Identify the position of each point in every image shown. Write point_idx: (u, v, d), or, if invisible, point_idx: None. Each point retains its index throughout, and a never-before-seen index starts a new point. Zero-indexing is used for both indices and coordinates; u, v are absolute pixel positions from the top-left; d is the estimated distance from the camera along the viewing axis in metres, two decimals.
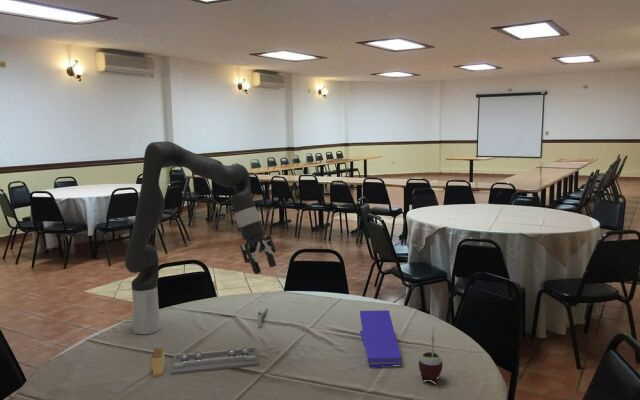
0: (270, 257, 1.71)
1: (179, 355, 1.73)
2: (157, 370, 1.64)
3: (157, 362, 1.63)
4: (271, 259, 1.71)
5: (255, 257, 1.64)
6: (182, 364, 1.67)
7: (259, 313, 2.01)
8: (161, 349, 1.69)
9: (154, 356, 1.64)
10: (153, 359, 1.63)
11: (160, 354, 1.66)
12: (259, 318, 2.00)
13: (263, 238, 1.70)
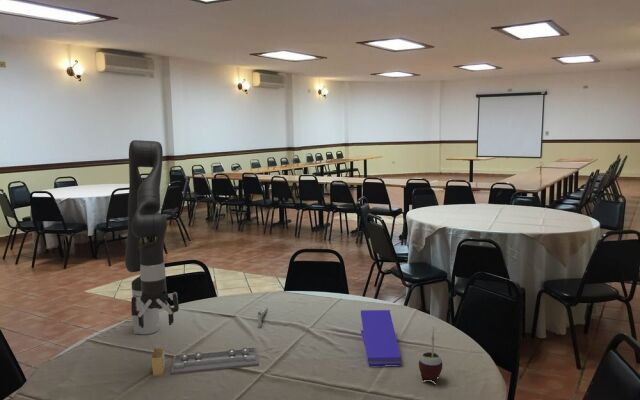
0: None
1: (179, 355, 1.73)
2: (157, 370, 1.64)
3: (157, 362, 1.63)
4: None
5: (140, 312, 1.62)
6: (182, 364, 1.67)
7: (259, 313, 2.01)
8: (161, 349, 1.69)
9: (154, 356, 1.64)
10: (153, 359, 1.63)
11: (160, 354, 1.66)
12: (259, 318, 2.00)
13: (163, 296, 1.63)
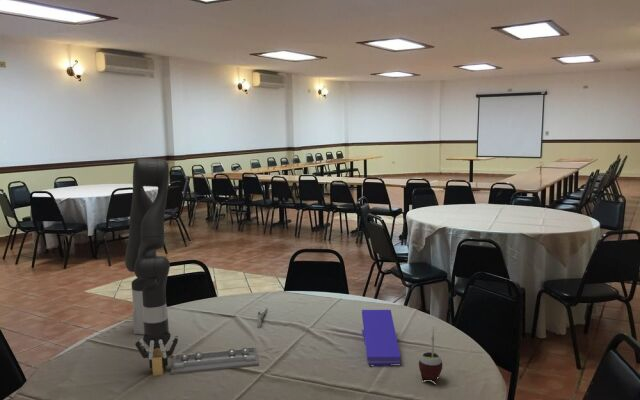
0: None
1: (179, 355, 1.73)
2: (157, 370, 1.64)
3: (157, 362, 1.63)
4: None
5: (151, 355, 1.65)
6: (182, 364, 1.67)
7: (259, 313, 2.01)
8: None
9: (154, 356, 1.64)
10: (153, 359, 1.63)
11: (160, 354, 1.65)
12: (259, 318, 2.00)
13: (166, 336, 1.65)
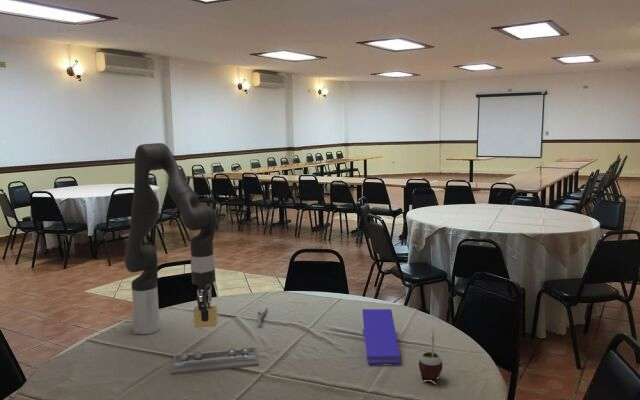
0: None
1: (179, 355, 1.73)
2: (216, 319, 1.70)
3: (216, 311, 1.70)
4: None
5: (207, 305, 1.67)
6: (182, 364, 1.67)
7: (259, 313, 2.01)
8: None
9: (212, 308, 1.68)
10: (215, 309, 1.68)
11: (209, 306, 1.70)
12: (259, 318, 2.00)
13: (209, 283, 1.71)
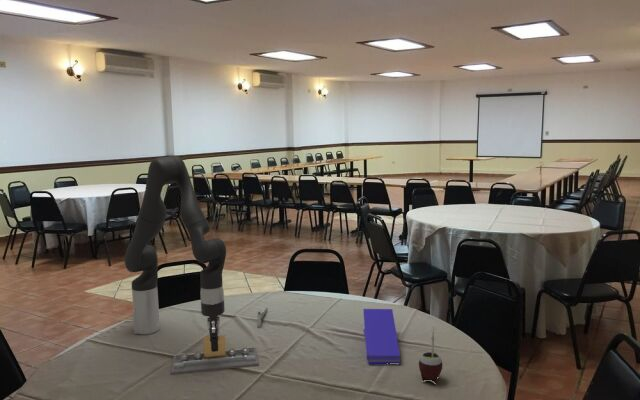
0: None
1: (179, 355, 1.73)
2: None
3: None
4: None
5: None
6: (182, 364, 1.67)
7: (259, 313, 2.01)
8: (206, 337, 1.72)
9: (221, 338, 1.71)
10: None
11: (218, 336, 1.73)
12: (259, 318, 2.00)
13: None
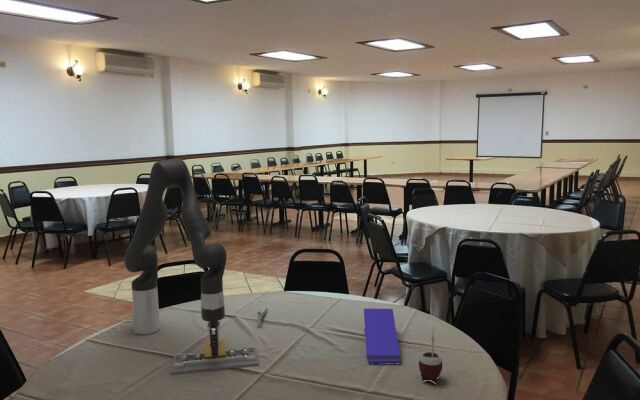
0: None
1: (179, 355, 1.73)
2: None
3: None
4: (216, 338, 1.76)
5: None
6: (182, 364, 1.67)
7: (259, 313, 2.01)
8: (207, 342, 1.72)
9: (221, 342, 1.71)
10: None
11: (218, 340, 1.73)
12: (258, 318, 2.00)
13: None
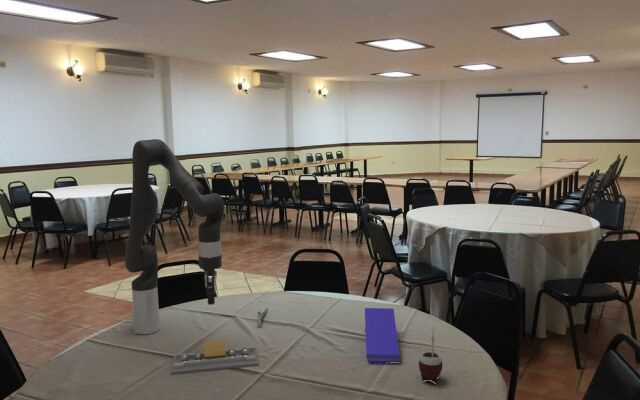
0: (212, 286, 1.78)
1: (179, 355, 1.73)
2: None
3: None
4: (213, 288, 1.78)
5: (214, 289, 1.70)
6: (182, 364, 1.67)
7: (259, 313, 2.01)
8: (207, 342, 1.72)
9: (221, 342, 1.71)
10: None
11: (218, 340, 1.73)
12: (259, 318, 2.00)
13: None
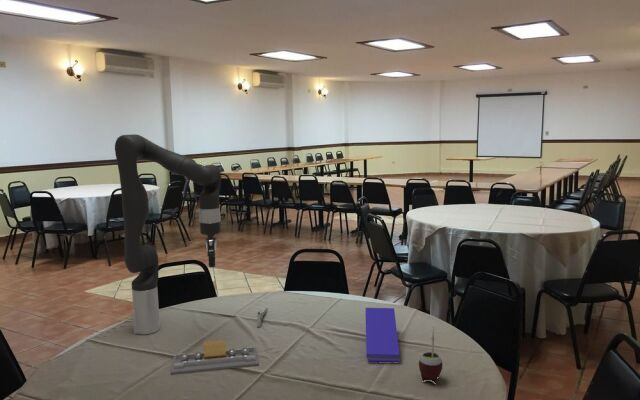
0: (213, 252, 1.92)
1: (179, 355, 1.73)
2: None
3: None
4: None
5: None
6: (182, 364, 1.67)
7: (258, 313, 2.01)
8: (207, 342, 1.72)
9: (221, 342, 1.71)
10: None
11: (218, 340, 1.73)
12: (258, 318, 2.00)
13: None
